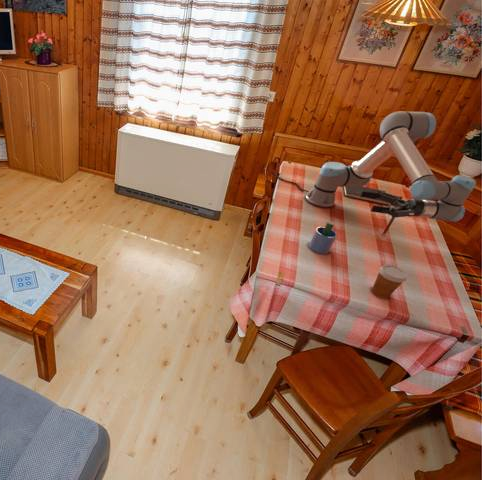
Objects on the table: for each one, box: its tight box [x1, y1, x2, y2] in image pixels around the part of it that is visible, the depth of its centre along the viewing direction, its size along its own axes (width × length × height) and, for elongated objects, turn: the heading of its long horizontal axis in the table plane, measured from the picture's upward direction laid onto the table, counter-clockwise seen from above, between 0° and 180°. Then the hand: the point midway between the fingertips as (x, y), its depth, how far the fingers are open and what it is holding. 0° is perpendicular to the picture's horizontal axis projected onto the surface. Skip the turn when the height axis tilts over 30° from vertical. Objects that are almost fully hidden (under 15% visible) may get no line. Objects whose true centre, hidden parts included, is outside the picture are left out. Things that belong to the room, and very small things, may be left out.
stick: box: [322, 220, 335, 237], centre depth 177 cm, size 3×3×14 cm
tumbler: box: [308, 226, 338, 255], centre depth 179 cm, size 9×9×10 cm
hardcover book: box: [342, 186, 389, 206], centre depth 231 cm, size 16×23×2 cm
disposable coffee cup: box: [371, 264, 408, 299], centre depth 154 cm, size 10×10×12 cm
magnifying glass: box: [382, 202, 396, 236], centre depth 189 cm, size 9×2×20 cm, turn 63°
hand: (366, 200), depth 164 cm, fingers open, 13 cm apart
